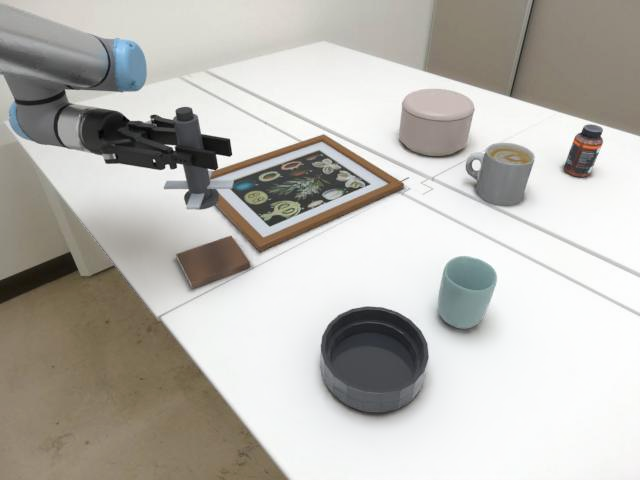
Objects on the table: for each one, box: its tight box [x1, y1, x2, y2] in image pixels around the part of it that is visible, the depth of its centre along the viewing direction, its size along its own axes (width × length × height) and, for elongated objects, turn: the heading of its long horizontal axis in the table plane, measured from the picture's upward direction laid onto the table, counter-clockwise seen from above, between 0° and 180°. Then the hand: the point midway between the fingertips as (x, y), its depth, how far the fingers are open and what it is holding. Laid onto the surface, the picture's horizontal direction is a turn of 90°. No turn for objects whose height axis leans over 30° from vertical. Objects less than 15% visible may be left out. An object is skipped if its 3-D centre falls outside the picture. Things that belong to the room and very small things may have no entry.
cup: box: [437, 255, 498, 330], centre depth 71 cm, size 8×8×10 cm
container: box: [398, 88, 476, 157], centre depth 118 cm, size 18×18×12 cm
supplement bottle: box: [563, 123, 604, 178], centre depth 106 cm, size 6×6×11 cm
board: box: [175, 235, 251, 290], centre depth 85 cm, size 11×9×2 cm
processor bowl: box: [320, 305, 430, 414], centre depth 65 cm, size 15×15×6 cm
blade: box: [163, 106, 234, 211], centre depth 71 cm, size 11×11×16 cm
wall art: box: [210, 133, 405, 253], centre depth 105 cm, size 31×2×38 cm
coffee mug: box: [465, 142, 536, 206], centre depth 101 cm, size 13×10×10 cm
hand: (222, 154), depth 68 cm, fingers closed on blade, 4 cm apart
